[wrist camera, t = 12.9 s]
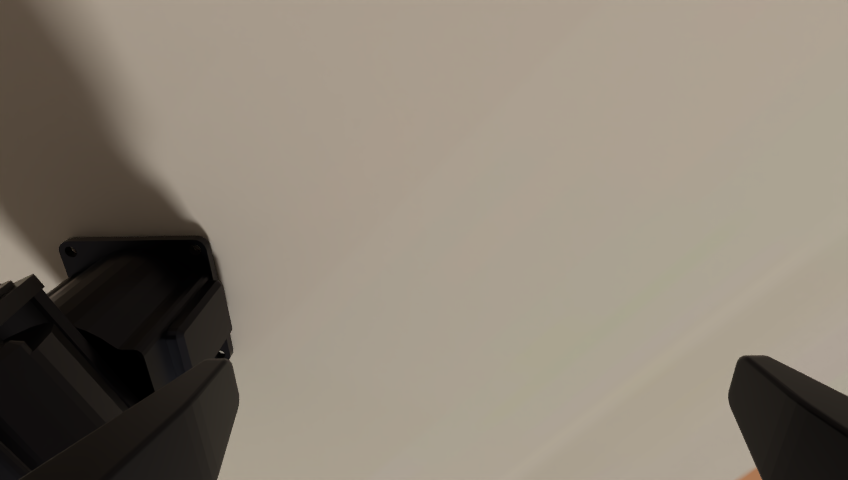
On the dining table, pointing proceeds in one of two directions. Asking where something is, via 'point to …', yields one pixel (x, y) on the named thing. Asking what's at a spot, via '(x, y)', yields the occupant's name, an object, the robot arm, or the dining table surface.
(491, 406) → the dining table surface
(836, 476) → the robot arm
